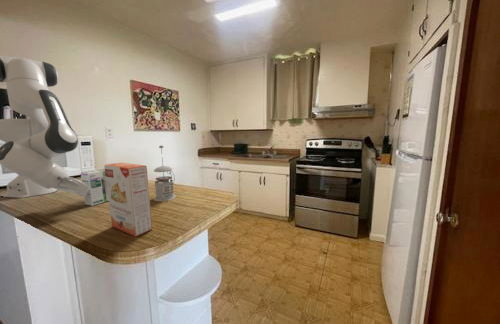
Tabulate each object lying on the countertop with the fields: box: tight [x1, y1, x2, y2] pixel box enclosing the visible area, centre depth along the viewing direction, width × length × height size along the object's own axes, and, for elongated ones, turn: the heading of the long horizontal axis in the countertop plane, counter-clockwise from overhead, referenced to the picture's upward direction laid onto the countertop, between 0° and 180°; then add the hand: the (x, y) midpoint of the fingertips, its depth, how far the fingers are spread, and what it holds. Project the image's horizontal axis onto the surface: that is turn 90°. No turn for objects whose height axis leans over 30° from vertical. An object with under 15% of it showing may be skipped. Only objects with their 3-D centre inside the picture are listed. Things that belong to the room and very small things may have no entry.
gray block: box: [103, 177, 109, 202], centre depth 95 cm, size 3×8×13 cm, turn 65°
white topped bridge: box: [83, 167, 106, 178], centre depth 99 cm, size 16×10×14 cm
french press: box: [153, 145, 177, 202], centre depth 97 cm, size 10×12×25 cm
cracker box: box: [104, 162, 153, 238], centre depth 65 cm, size 14×6×21 cm, turn 58°
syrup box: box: [80, 169, 107, 207], centre depth 90 cm, size 6×6×14 cm
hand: (85, 194), depth 88 cm, fingers closed, pressing on syrup box
